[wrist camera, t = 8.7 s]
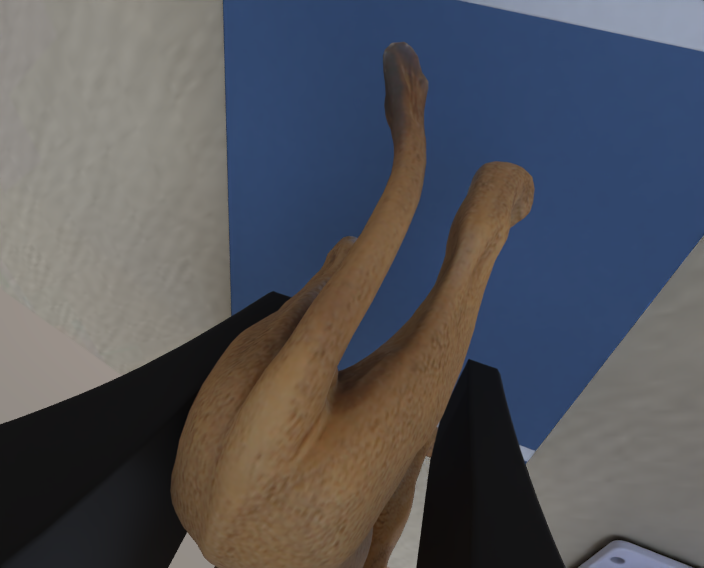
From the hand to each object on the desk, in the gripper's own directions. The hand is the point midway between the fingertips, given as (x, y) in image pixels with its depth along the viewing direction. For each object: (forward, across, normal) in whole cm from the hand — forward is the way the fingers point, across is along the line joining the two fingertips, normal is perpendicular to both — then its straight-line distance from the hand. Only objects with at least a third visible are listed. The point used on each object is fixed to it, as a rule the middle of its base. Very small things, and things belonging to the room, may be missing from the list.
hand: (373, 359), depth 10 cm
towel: (+5, 0, 0) cm, 5 cm away
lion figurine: (+2, -1, +2) cm, 3 cm away
